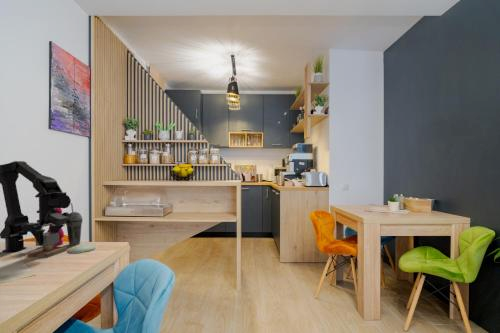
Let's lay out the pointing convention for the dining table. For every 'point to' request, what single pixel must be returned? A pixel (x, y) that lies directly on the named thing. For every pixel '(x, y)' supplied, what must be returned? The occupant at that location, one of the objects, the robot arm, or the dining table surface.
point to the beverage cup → (74, 228)
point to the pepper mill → (61, 233)
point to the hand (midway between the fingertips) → (47, 243)
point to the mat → (81, 249)
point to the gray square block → (49, 239)
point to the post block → (47, 251)
